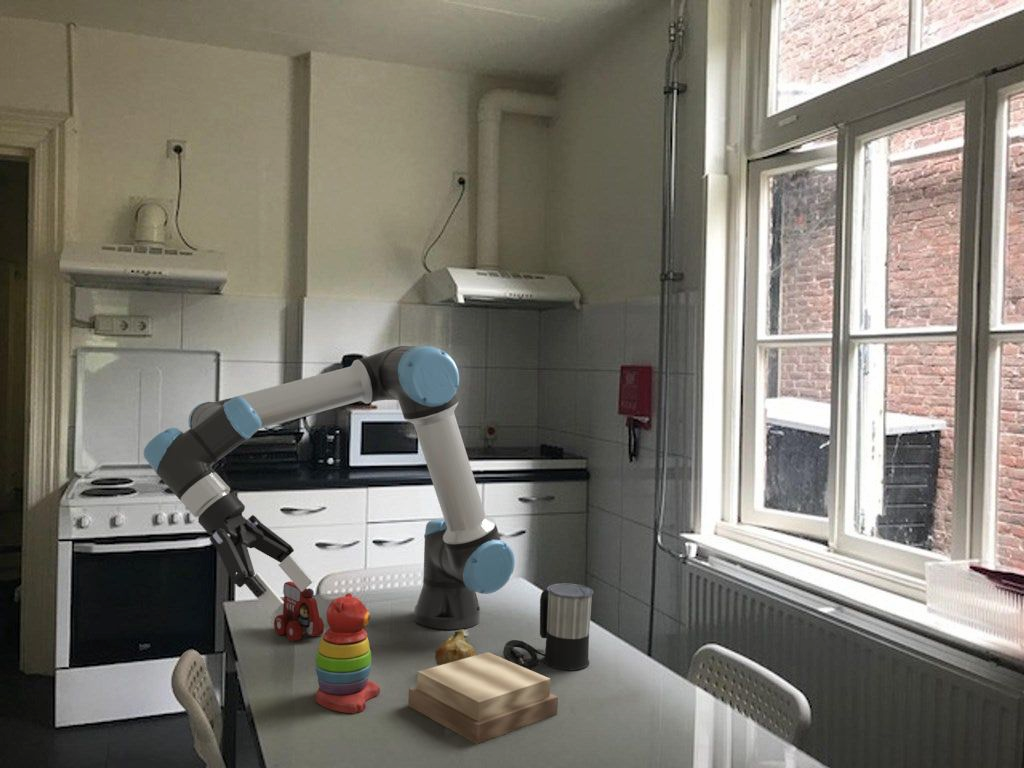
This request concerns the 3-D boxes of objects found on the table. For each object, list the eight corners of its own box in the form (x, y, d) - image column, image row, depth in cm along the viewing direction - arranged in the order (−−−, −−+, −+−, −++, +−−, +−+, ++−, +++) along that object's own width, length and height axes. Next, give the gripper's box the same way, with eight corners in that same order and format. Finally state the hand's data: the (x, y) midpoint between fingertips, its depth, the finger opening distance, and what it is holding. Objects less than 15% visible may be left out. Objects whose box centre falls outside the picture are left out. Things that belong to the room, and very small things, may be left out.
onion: (428, 667, 160) (430, 626, 160) (468, 663, 163) (469, 623, 163) (440, 682, 153) (442, 639, 153) (481, 677, 156) (483, 635, 156)
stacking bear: (360, 715, 137) (364, 608, 137) (303, 707, 139) (307, 602, 139) (383, 690, 148) (387, 591, 147) (329, 684, 150) (333, 586, 149)
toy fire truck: (300, 646, 168) (302, 595, 168) (269, 630, 177) (271, 582, 177) (329, 639, 173) (331, 590, 173) (298, 624, 182) (300, 577, 182)
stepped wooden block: (487, 681, 154) (488, 649, 154) (557, 714, 141) (558, 679, 141) (408, 705, 142) (409, 671, 142) (476, 744, 129) (478, 706, 128)
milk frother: (599, 663, 166) (602, 590, 165) (547, 684, 154) (551, 604, 154) (545, 645, 176) (548, 575, 175) (493, 662, 164) (496, 588, 164)
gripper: (231, 507, 158) (304, 591, 157) (161, 533, 133) (246, 633, 132) (259, 481, 157) (332, 565, 156) (193, 502, 133) (279, 603, 131)
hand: (293, 597), depth 144 cm, fingers open, 13 cm apart
